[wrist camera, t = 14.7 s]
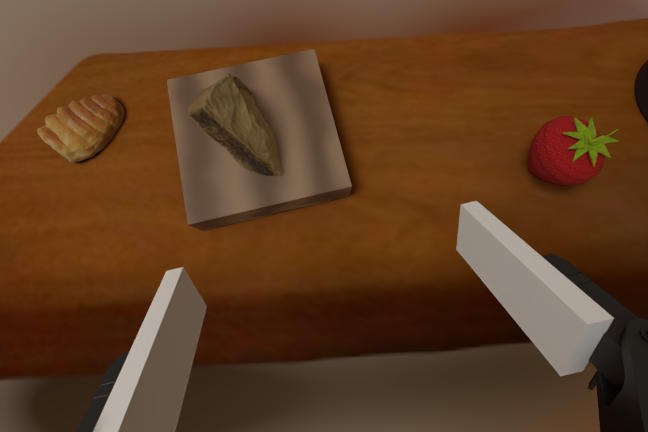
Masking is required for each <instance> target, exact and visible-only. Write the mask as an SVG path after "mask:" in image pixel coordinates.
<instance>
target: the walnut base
mask: <svg viewBox="0 0 648 432" xmlns="http://www.w3.org/2000/svg"><path fill="white" fill-rule="evenodd" d="M229 73H230V74H231V76H236V77H237V78H239V79H240V80H241V82H242V83H244V84H246V85H247V86H248V87H249V88H250V89H251V91H252V92H253V94H254V100H255V106H256V107H257V108H258V109H259V110H260V112H261V113H262V115H263V118H264V120H265V122H266V123H268V125H269V127H270V128H271V129H272V131H273V134H274V136H275V138H276V140H277V142H278V150H279V159H280V167H281V169H282V170H283V174H282V175H280V176H279V175H272V176H268V175H262V174H258V173H255V172H252V171H249V170H246V169H244V168H243V167H242V166H241V165H240V164H239V163H237V162H236V160H235V159H234V158H233V157H232V156H231V155H230V154H229V153H228V151H227V150H226V148H224V147H223V146H221V145H220V144H219V143H218V142H216V141H215V140H213V139H212V138H211V137H210V136H208V135H207V134H206V133H205V132H204V131H203V130H202V129H201V128H200V127H199V126H198V125H197V123H196V122H195V121H194V120H193V119H192V118H191V117H190V116H189V115H188V110H189V106H190V105H191V104H192V103H193V101H194V100H195V99H196V98H197V97H198V96H200V93H201V91H202V90H204V89H206V88H208V87H210V86H212V85H213V84H215V83H216V82H217V81H219V80H221V79H222V78H223V77H225V76H226V75H227V74H229ZM167 85H168V92H169V99H170V106H171V113H172V119H173V126H174V133H175V140H176V147H177V154H178V161H179V168H180V175H181V181H182V188H183V195H184V202H185V209H186V216H187V223H188V225H190V226H192V227H195V228H197V229H200V230H202V231H205V230H209V229H213V228H218V227H222V226H226V225H230V224H235V223H239V222H243V221H247V220H252V219H256V218H260V217H264V216H269V215H273V214H277V213H281V212H286V211H290V210H294V209H298V208H302V207H307V206H311V205H315V204H319V203H324V202H328V201H332V200H336V199H341V198H345V197H349V195H350V192H351V188H352V185H351V181H350V177H349V174H348V170H347V166H346V163H345V159H344V155H343V152H342V148H341V145H340V141H339V137H338V134H337V130H336V126H335V123H334V119H333V115H332V112H331V108H330V105H329V101H328V97H327V94H326V90H325V86H324V83H323V79H322V75H321V72H320V68H319V64H318V61H317V57H316V54H315V50H314V49H311V50H306V51H302V52H297V53H292V54H287V55H283V56H278V57H273V58H268V59H264V60H259V61H254V62H250V63H245V64H240V65H235V66H231V67H226V68H221V69H216V70H212V71H207V72H202V73H198V74H193V75H188V76H183V77H179V78H174V79H169V80H167Z"/></svg>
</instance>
